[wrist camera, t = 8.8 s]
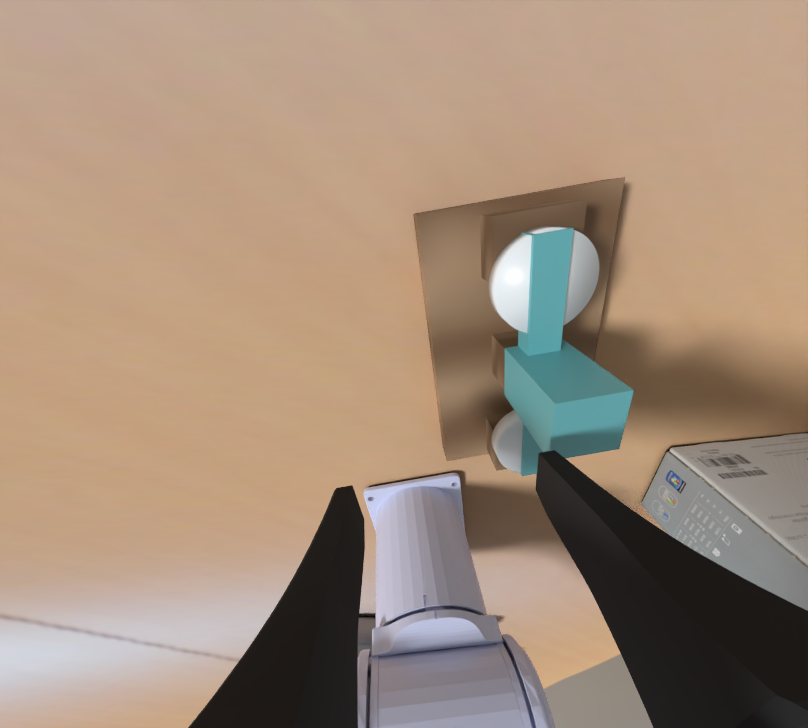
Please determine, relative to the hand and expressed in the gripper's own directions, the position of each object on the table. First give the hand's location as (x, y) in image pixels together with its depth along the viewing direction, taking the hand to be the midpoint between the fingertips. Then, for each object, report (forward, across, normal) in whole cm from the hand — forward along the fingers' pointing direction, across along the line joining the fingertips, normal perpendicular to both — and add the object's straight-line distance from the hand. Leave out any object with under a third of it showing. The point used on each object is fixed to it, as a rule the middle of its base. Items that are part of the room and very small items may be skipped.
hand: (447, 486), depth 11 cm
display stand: (+9, -6, -1) cm, 11 cm away
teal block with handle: (+6, -6, -1) cm, 8 cm away
